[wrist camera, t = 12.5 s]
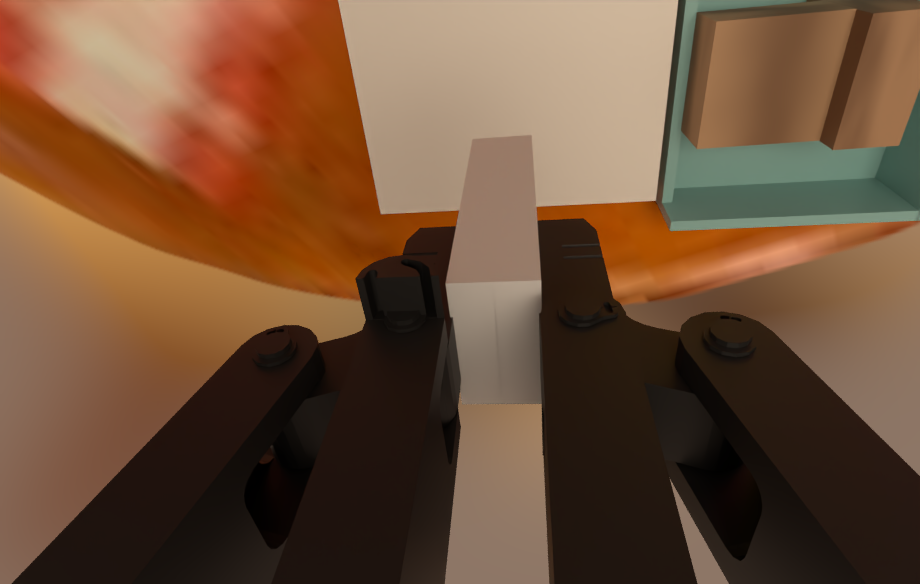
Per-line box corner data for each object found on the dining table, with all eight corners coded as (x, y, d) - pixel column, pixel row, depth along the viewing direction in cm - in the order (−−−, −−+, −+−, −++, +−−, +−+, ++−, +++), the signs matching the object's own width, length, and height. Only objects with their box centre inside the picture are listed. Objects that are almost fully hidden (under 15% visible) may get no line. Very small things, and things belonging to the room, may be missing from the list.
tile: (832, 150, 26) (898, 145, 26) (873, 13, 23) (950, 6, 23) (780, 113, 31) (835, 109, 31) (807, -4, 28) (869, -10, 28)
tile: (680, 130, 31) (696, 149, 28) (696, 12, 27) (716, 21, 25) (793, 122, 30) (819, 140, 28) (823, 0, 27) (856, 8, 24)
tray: (652, 194, 36) (670, 230, 31) (685, -107, 27) (715, -111, 22) (878, 183, 34) (927, 220, 30) (994, -145, 25) (1088, -157, 21)
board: (390, 194, 37) (380, 214, 35) (346, -44, 29) (330, -40, 27) (646, 180, 35) (655, 200, 33) (672, -81, 27) (687, -81, 25)
